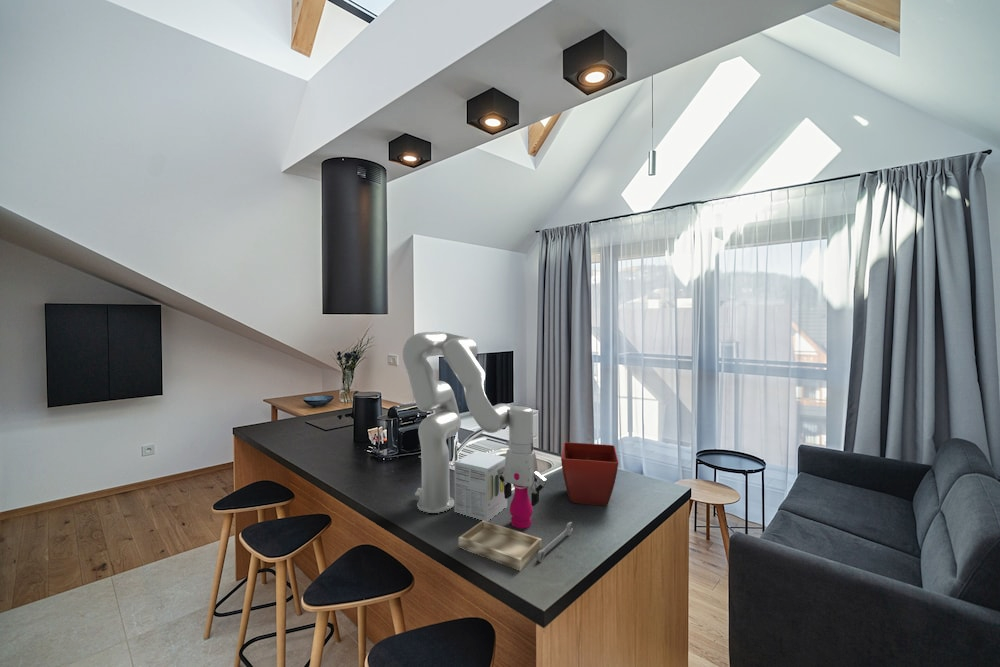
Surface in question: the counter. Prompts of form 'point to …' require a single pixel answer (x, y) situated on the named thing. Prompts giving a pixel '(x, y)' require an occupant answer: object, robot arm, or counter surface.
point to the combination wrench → (554, 542)
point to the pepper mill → (520, 506)
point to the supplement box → (479, 486)
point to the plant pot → (589, 472)
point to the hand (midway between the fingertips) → (521, 500)
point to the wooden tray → (501, 544)
